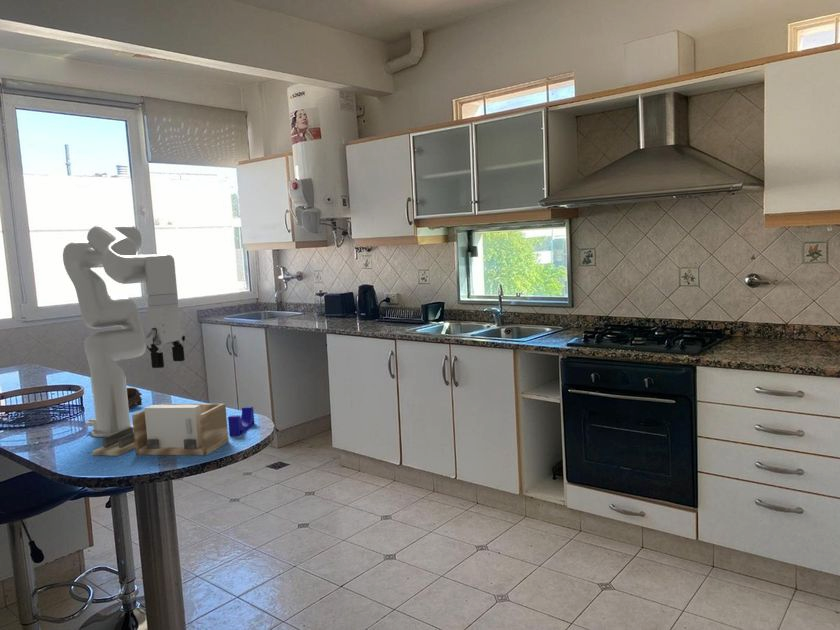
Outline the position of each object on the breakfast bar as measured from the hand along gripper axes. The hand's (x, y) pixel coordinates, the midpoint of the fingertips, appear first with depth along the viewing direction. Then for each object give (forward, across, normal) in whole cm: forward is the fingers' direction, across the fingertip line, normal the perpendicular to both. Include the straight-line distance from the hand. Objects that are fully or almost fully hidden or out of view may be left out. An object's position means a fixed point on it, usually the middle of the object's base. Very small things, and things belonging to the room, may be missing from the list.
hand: (168, 364), depth 171 cm
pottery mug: (+26, -49, -50) cm, 75 cm away
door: (+23, 0, 0) cm, 23 cm away
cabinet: (+24, -3, 0) cm, 24 cm away
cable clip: (+25, -20, +9) cm, 33 cm away
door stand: (+24, -5, -19) cm, 31 cm away
